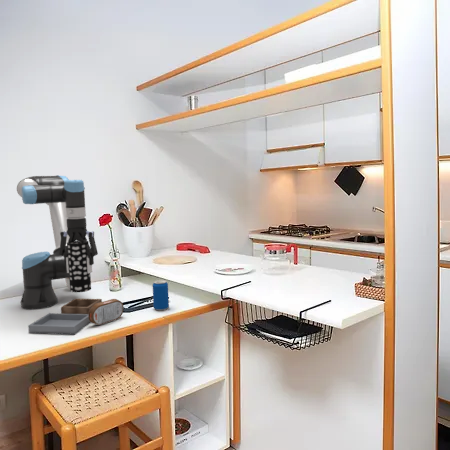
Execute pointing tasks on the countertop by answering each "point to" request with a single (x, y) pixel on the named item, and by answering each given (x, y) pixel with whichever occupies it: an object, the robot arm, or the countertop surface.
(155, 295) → the beverage can
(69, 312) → the holder
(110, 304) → the tin
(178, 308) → the countertop surface
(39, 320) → the tray
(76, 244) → the white-spotted black cylinder
